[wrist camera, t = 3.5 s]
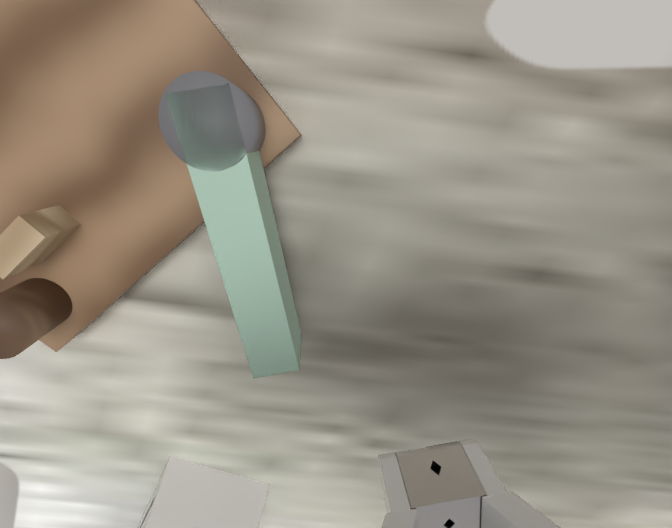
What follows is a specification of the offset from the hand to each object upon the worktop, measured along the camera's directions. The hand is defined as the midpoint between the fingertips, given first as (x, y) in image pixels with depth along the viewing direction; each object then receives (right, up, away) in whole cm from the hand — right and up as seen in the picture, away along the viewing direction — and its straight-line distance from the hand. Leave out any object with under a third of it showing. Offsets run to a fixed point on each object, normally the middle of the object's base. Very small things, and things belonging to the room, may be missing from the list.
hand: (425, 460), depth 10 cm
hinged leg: (-8, +8, +12) cm, 16 cm away
